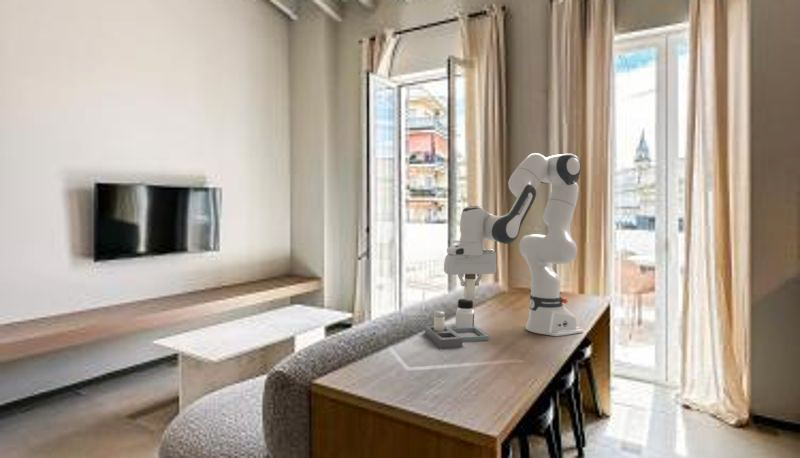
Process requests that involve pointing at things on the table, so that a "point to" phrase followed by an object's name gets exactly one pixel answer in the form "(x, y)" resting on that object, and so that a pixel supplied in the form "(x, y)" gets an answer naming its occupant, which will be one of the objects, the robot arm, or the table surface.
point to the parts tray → (471, 338)
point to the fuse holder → (443, 338)
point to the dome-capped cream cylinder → (439, 320)
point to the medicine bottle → (464, 314)
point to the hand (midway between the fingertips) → (469, 285)
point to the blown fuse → (469, 287)
